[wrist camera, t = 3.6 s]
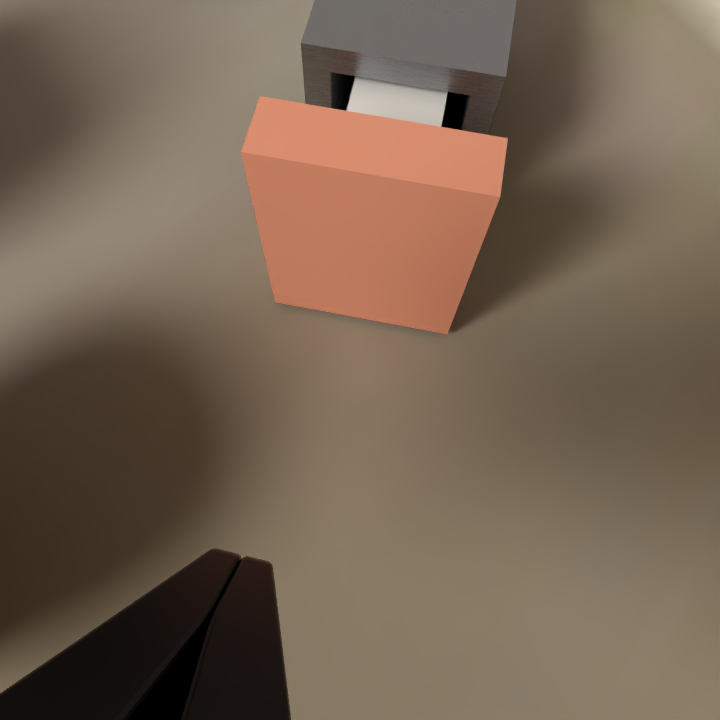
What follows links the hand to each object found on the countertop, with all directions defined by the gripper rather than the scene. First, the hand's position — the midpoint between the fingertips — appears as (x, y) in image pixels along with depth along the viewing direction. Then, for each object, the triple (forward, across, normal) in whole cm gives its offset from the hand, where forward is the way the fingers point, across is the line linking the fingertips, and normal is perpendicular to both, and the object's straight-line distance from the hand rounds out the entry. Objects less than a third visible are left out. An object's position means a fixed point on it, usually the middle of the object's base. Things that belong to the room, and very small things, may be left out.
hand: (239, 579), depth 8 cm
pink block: (+20, 0, -3) cm, 20 cm away
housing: (+25, 0, -7) cm, 26 cm away
